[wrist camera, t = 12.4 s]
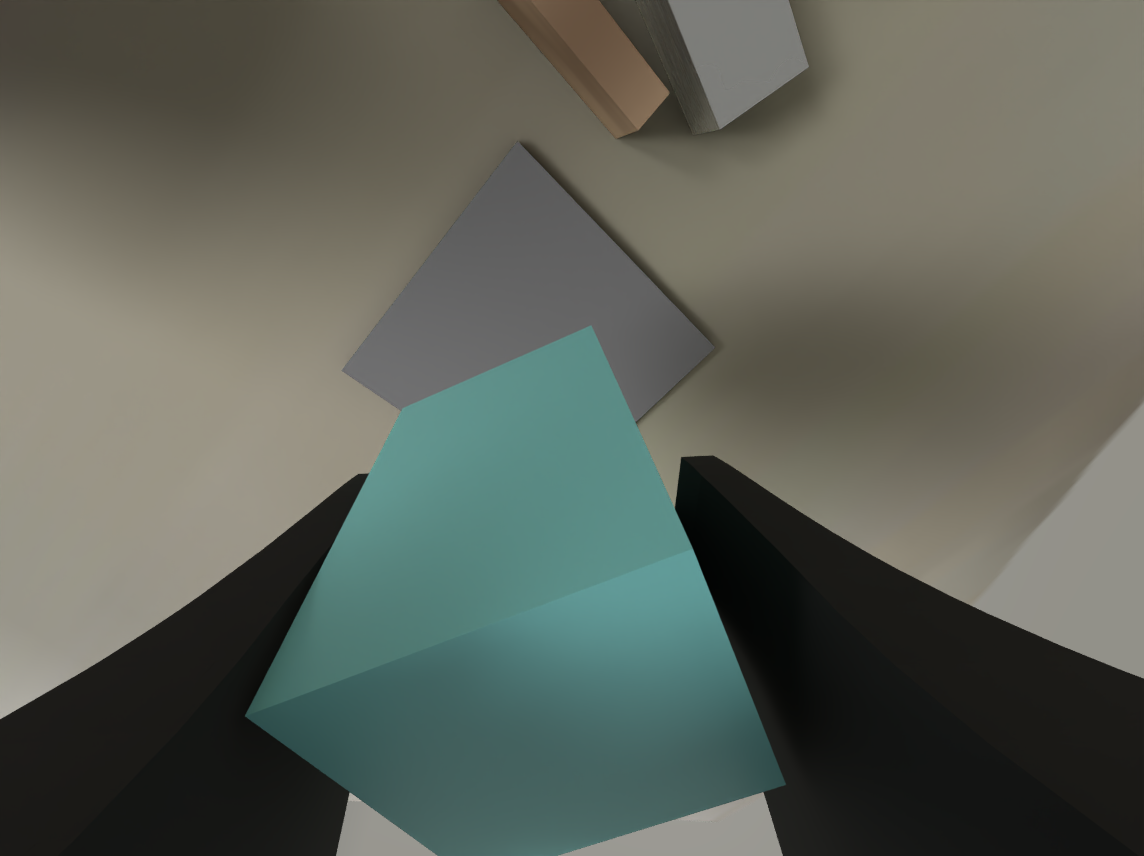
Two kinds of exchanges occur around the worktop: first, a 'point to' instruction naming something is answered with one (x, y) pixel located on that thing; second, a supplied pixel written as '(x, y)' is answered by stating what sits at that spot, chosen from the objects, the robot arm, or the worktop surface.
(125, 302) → the worktop surface
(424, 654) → the block
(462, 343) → the coaster
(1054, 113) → the worktop surface
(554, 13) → the channel
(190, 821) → the robot arm
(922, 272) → the worktop surface
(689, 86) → the rod
